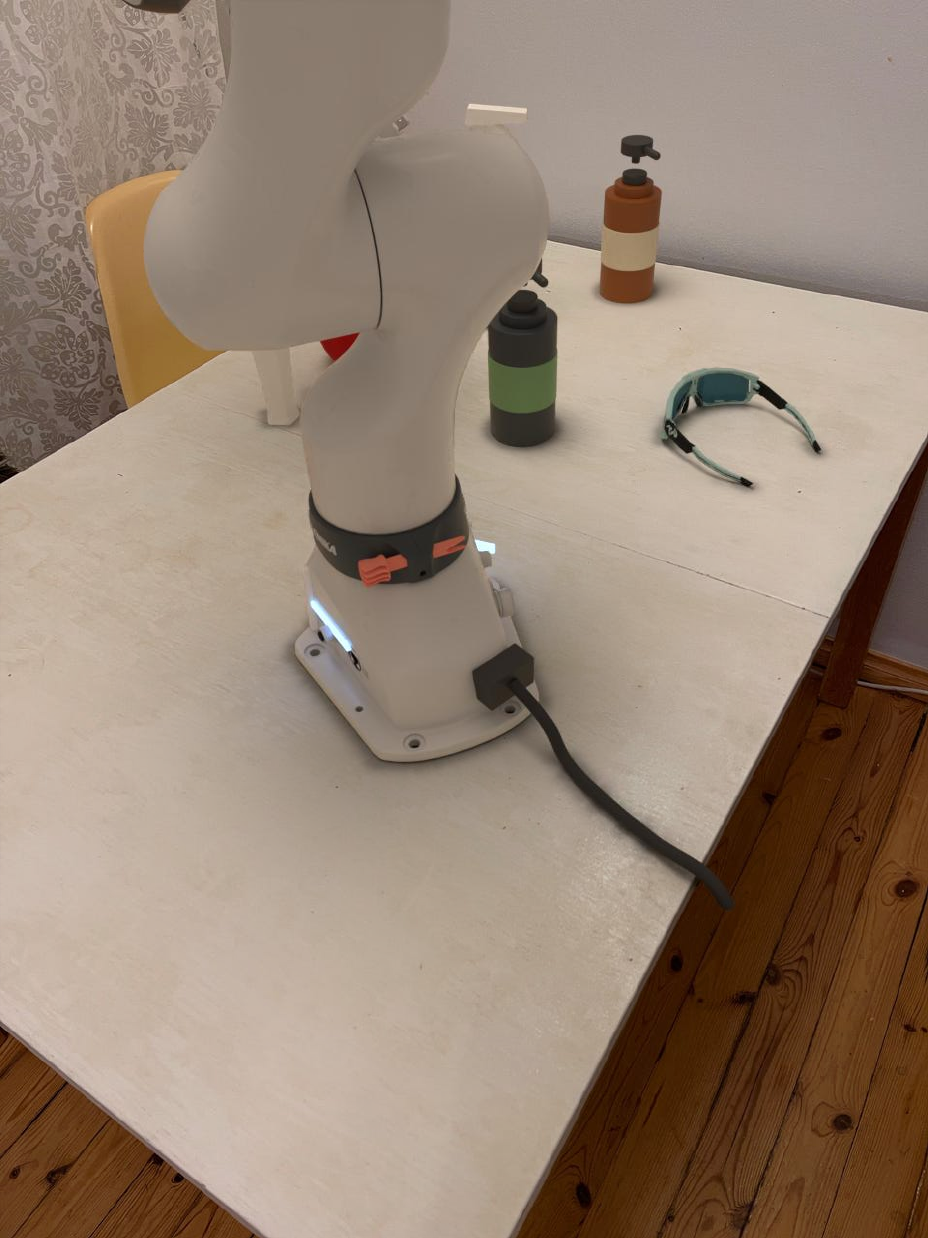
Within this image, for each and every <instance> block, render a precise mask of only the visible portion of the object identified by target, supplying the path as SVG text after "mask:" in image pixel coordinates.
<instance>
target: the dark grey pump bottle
mask: <svg viewBox="0 0 928 1238" xmlns="http://www.w3.org/2000/svg"><path fill="white" fill-rule="evenodd" d="M538 297H539V295H538V294H537V292H535V291H532V290H529V289H519V290H518V291H517V292H516V293H515V294H514V295H513V296H512V297H511V298H510V299H509V300H508V301H507V302H506V303H505V304H504V306H503V307H502V308H501V309H500V310H499V312H498V313H497V314H496V315H495V317H494V318H493V319H492V321H491V322H490V324H489V325H488V326H487V343H488V344H487V345H488V346H487V347H488V349H487V371H488V372H487V374H488V399H489V416H490V417H489V419H490V434H491V435H492V437H493V438H494V439H495V440H496V441H498V442H499V443H501V444H503V445H506V446H511V447H515V448H528V447H535V446H539V445H541V444H543V443H545V442H547V441H548V440H550V439H551V438H552V437H553V436H554V433H555V431H556V399H557V385H558V314H557V313H556V311H554V310H553V309H552V308H550V307H549V306H547V303H546V302H545V301H544V300H542V299H540V298H538Z"/></svg>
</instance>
